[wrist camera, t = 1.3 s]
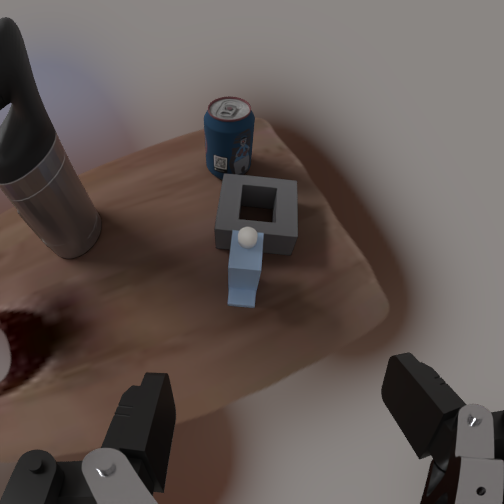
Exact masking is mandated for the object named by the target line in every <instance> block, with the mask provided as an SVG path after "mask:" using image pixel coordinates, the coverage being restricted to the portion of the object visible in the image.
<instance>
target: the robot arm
mask: <svg viewBox="0 0 504 504" xmlns="http://www.w3.org/2000/svg"><path fill="white" fill-rule="evenodd" d="M9 103H12V105H11V107H10V110H9V112H8V114H7V116H6V118H5V120H4V121H3V123H2V125H1V126H0V188H1V190H2V191H3V192H4V194H5V195H6V196H7V198H8V199H9V200H10V201H11V202H12V204H13V205H14V206H15V207H16V209H17V210H18V214H19V215H20V216H21V218H22V219H23V220H24V221H25V222H26V223H27V225H28V226H29V227H30V228H31V229H32V230H33V231H34V232H35V234H36V235H37V236H38V237H39V238H40V239H41V240H42V241H43V242H44V244H45V245H46V246H47V247H50V248H51V249H52V250H53V251H54V252H55V253H56V254H57V255H58V256H60V257H62V258H67V259H69V258H75V257H78V256H80V255H82V254H84V253H85V252H87V251H88V250H89V249H90V248H91V247H92V246H93V245H94V244H95V242H96V241H97V239H98V237H99V235H100V231H101V218H100V216H99V214H98V212H97V210H96V208H95V207H94V205H93V203H92V201H91V199H90V198H89V196H88V194H87V192H86V190H85V188H84V187H83V185H82V183H81V181H80V179H79V177H78V175H77V174H76V171H75V170H74V168H73V166H72V164H71V162H70V160H69V158H68V156H67V154H66V152H65V150H64V148H63V146H62V144H61V142H60V139H59V137H58V135H57V133H56V131H55V129H54V127H53V124H52V123H51V120H50V118H49V116H48V114H47V112H46V110H45V107H44V105H43V102H42V100H41V97H40V95H39V92H38V89H37V86H36V83H35V80H34V77H33V73H32V70H31V66H30V62H29V58H28V55H27V51H26V48H25V44H24V41H23V38H22V35H21V33H20V30H19V28H18V26H17V25H16V23H15V22H14V21H13V20H12V19H10V18H7V17H5V18H1V19H0V110H1V109H2V108H4V107H5V106H6V105H8V104H9ZM381 394H382V399H383V402H384V403H385V405H386V407H387V408H388V410H389V411H390V413H391V414H392V416H393V418H394V419H395V421H396V422H397V424H398V426H399V427H400V429H401V430H402V432H403V433H404V435H405V437H406V438H407V440H408V442H409V443H410V445H411V446H412V448H413V450H414V451H415V453H416V455H417V456H418V457H419V459H422V458H425V457H427V456H430V455H431V456H432V457H433V460H432V461H431V464H430V467H429V472H428V476H427V480H426V484H425V488H424V492H423V495H422V499H421V502H420V504H504V410H503V411H498V412H490V411H489V410H488V409H486V408H485V407H483V406H481V405H478V404H469V405H466V404H465V403H464V402H463V400H462V399H461V398H460V397H459V396H458V395H457V394H456V393H455V392H454V391H453V390H452V388H450V386H449V385H448V384H446V383H445V381H444V380H443V379H442V378H440V376H439V375H438V373H437V372H436V371H434V369H433V368H431V367H429V366H428V365H426V364H424V363H422V362H421V363H420V362H419V361H418V360H417V359H416V358H415V357H414V356H413V355H412V354H411V353H404V354H399V355H394V356H392V357H390V359H389V361H388V365H387V370H386V373H385V377H384V381H383V385H382V390H381ZM118 405H119V406H118V407H117V409H116V412H115V415H114V417H113V419H112V421H111V424H110V426H109V429H108V431H107V434H106V437H105V439H104V442H103V444H102V447H101V448H100V449H96V450H94V451H92V452H90V453H89V454H88V455H87V456H86V457H85V458H84V460H83V461H72V462H56V460H55V459H54V458H53V456H52V455H51V454H49V453H48V452H46V451H43V450H31V451H29V452H26V453H25V454H23V455H22V456H21V457H20V459H19V460H18V462H17V465H16V466H15V469H14V471H13V473H12V475H11V477H10V480H9V482H8V484H7V486H6V489H5V491H4V493H3V496H2V498H1V500H0V504H157V502H156V501H155V499H154V498H153V492H161V493H164V488H165V481H166V474H167V467H168V461H169V456H170V450H171V444H172V438H173V432H174V427H175V421H176V409H175V403H174V398H173V394H172V389H171V384H170V379H169V376H168V374H167V373H148V372H147V373H145V375H144V378H143V381H142V383H141V386H131V387H130V388H129V389H128V390H127V391H126V392H125V393H124V394H123V395H122V397H121V400H120V402H119V404H118Z"/></svg>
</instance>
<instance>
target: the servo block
mask: <svg viewBox="0 0 504 504" xmlns="http://www.w3.org/2000/svg"><path fill="white" fill-rule="evenodd" d="M263 235H264V233H258V232H256V230H255V229H254V228H252V227H244V228H242V229H240V231H237V230H233V231H232V239H231V248H230V256H229V264H228V290H229V296H228V306H238V307H249V308H254V307H255V296H256V292H257V287H258V283H259V278H260V274H261V266H262V251H263Z"/></svg>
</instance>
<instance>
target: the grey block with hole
mask: <svg viewBox="0 0 504 504" xmlns="http://www.w3.org/2000/svg"><path fill="white" fill-rule="evenodd" d="M241 206H247V207H258V208H268V209H273V216H272V222H262V221H251V220H241V219H240V212H241ZM244 227H252V228H254V229H255V230H256V232H258V233H264V235H263V251H262V253H272V254H282V255H291V253H292V251H293V248H294V246H295V243H296V240H297V238H298V210H297V181H293V180H285V179H276V178H267V177H257V176H247V175H236V174H224V176H223V181H222V187H221V193H220V199H219V205H218V210H217V216H216V223H215V229H214V230H215V242H216V248H219V249H230V248H231V239H232V231H233V230H237V231H240V229H242V228H244Z"/></svg>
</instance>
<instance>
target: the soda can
mask: <svg viewBox="0 0 504 504" xmlns="http://www.w3.org/2000/svg"><path fill="white" fill-rule="evenodd" d="M254 121H255V117H254V114H253V112H252V111H251V106H250V104H249V103H248V102H247V101H245V100H243V99H241V98H237V97H222V98H218V99H215V100H214V101H212V102H211V103H210V104H209V106H208V110H207V112H206V114H205V116H204V131H205V148H206V163H207V168H208V169H209V171H210V172H211V173H212V174H213V175H214V176H216V177H217V178H219V179H221V180H223V176H224V174H236V175H244V174H245V173H246V172H247V171H248V170H249V168H250V165H251V155H252V143H253V132H254Z"/></svg>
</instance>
